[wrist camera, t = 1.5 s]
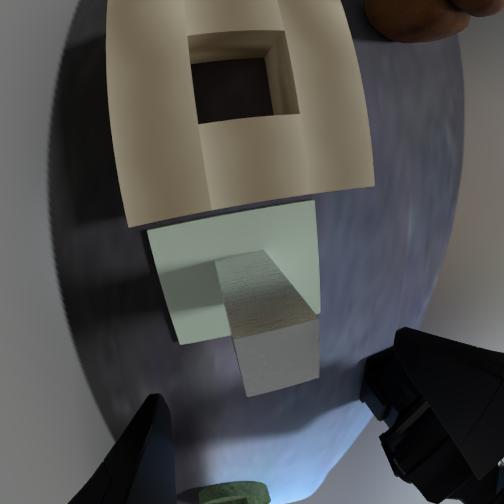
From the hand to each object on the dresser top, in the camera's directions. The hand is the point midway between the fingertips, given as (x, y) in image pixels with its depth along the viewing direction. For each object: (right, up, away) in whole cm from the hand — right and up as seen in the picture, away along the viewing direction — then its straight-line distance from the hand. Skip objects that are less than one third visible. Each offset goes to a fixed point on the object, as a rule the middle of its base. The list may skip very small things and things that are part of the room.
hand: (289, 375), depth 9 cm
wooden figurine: (+9, +22, +5) cm, 25 cm away
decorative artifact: (-4, -30, +19) cm, 36 cm away
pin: (-2, +3, +8) cm, 9 cm away
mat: (-2, +3, +8) cm, 9 cm away
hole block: (-2, +13, +5) cm, 14 cm away
